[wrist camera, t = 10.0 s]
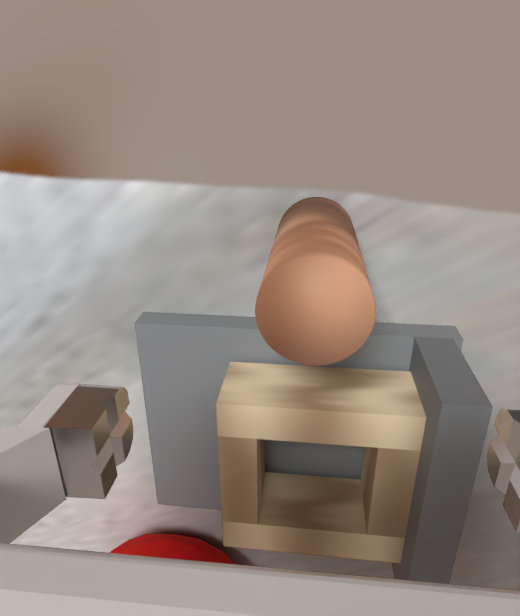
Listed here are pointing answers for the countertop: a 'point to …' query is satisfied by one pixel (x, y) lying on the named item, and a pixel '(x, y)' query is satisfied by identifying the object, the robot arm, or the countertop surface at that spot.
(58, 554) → the robot arm
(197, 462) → the slate track
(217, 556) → the tomato
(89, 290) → the countertop surface
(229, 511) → the square wooden frame
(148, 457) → the countertop surface
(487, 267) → the countertop surface
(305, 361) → the dowel
